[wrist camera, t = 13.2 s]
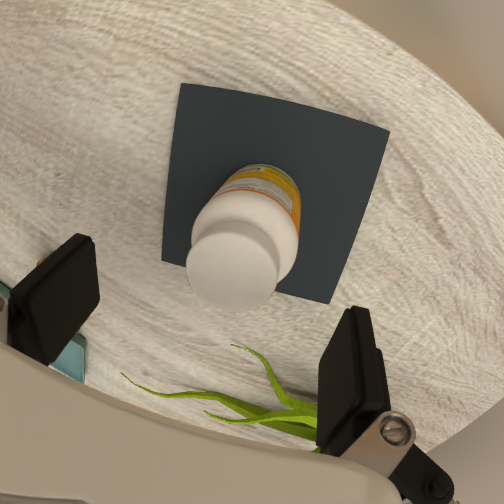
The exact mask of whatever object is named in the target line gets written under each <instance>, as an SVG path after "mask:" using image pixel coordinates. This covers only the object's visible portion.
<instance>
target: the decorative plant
mask: <svg viewBox="0 0 504 504" xmlns="http://www.w3.org/2000/svg"><path fill="white" fill-rule="evenodd" d="M231 345H233V344H231ZM233 346H236V345H233ZM236 347H239V348H243V347H240V346H236ZM243 349H246V350H248V351H249V352H251V353H252V354H254V355H255V356H257V357H258V358H260V359H261V360H262V362H263V363H264V365H265V366H266V369H267V372H268V375H269V379H270V382H271V385H272V387H273V389H274V390H275V392H276V394H277V396H278V398H279V400H280V402H281V403H282V404H284V405H286V406H288V407H290V408H292V409H294V410H285V411H275V412H271V411H268V410H266V409H263V408H260V407H257V406H254V405H251V404H248V403H245V402H242V401H239V400H237V399H234V398H231V397H228V396H225V395H222V394H220V393H210V392H193V391H188V392H181V393H174V394H163V393H158V392H153V391H151V390H149V389H146V388H144V387H142V386H139V385H137V384H135V383H133V382H132V381H131V380H130V379H129V378H127V377H126V376H125V375H124V374H123V373H122V372H121V374H122V375H124V376H125V377H126V378H127V379H128V380H129V381H130V382H132V383H133V384H134V385H136V386H138V387H140V388H142V389H144V390H146V391H148V392H150V393H152V394H155V395H158V396H161V397H165V398H199V399H208V400H218V401H219V402H221V403H222V404H224V405H226V406H227V407H229V408H231V409H232V410H234V411H236V412H237V413H239V414H241V415H243V416H244V417H246V418H248V419H243V420H230V419H226V418H222V417H219V416H215V415H212V414H210V413H208V412H207V411H205V410H204V412H205V413H206V414H207V415H209V416H210V417H213V418H215V419H218V420H221V421H224V422H226V423H229V424H253V423H259V424H262V425H265V426H268V427H271V428H274V429H277V430H280V431H283V432H286V433H289V434H292V435H295V436H298V437H301V438H305V439H308V440H311V441H315V442H316V430H317V408H318V406H317V405H314V404H311V403H307V402H304V401H301V400H298V399H295V398H291V397H288V396H287V395H286V393H285V392H284V390H283V389H282V388H281V386H280V385H279V384H278V382H277V381H276V379H275V376H274V374H273V372H272V370H271V367H270V365H269V364H268V363H267V362H266V360H265V359H264V358H263V357H262V356H260V355H258V354H256V353H255V352H253V351H251V350H249V349H247V348H243ZM311 452H314V453H320V446H319V447H317V448H316V449H315V450H313V451H311Z"/></svg>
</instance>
